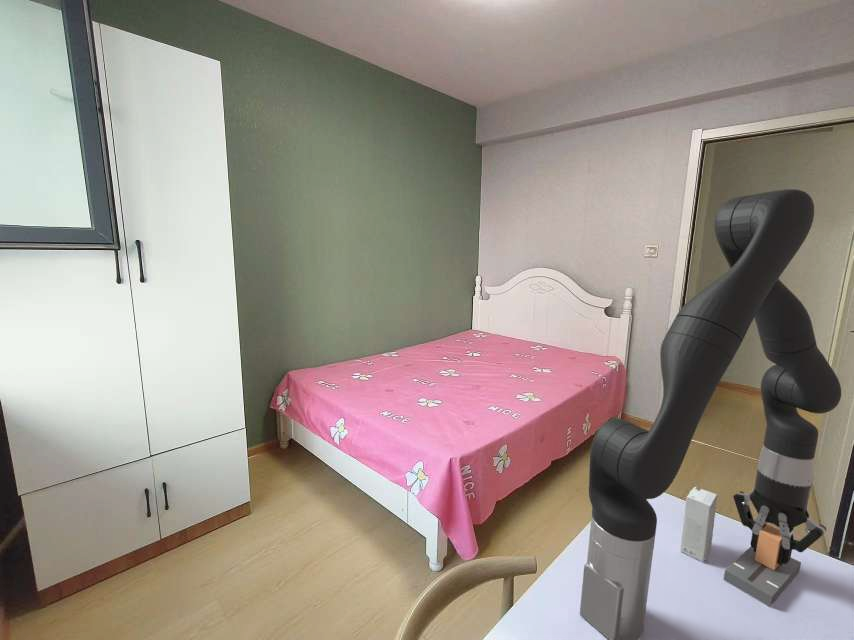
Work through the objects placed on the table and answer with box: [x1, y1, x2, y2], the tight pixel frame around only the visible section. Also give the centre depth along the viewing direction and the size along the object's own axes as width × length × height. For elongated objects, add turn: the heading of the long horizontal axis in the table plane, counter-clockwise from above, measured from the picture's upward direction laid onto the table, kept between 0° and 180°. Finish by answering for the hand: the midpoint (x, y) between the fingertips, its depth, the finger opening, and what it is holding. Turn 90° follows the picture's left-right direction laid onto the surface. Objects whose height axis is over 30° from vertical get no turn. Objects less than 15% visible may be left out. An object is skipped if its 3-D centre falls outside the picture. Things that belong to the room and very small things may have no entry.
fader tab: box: [755, 524, 782, 570], centre depth 77 cm, size 4×3×6 cm
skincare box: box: [680, 486, 718, 563], centre depth 83 cm, size 6×4×12 cm
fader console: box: [723, 546, 802, 607], centre depth 77 cm, size 15×7×2 cm, turn 123°
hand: (769, 556), depth 78 cm, fingers closed on fader tab, 3 cm apart
